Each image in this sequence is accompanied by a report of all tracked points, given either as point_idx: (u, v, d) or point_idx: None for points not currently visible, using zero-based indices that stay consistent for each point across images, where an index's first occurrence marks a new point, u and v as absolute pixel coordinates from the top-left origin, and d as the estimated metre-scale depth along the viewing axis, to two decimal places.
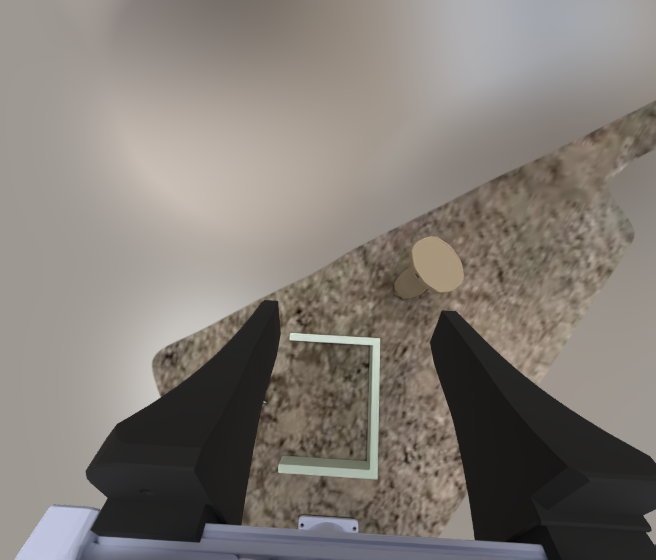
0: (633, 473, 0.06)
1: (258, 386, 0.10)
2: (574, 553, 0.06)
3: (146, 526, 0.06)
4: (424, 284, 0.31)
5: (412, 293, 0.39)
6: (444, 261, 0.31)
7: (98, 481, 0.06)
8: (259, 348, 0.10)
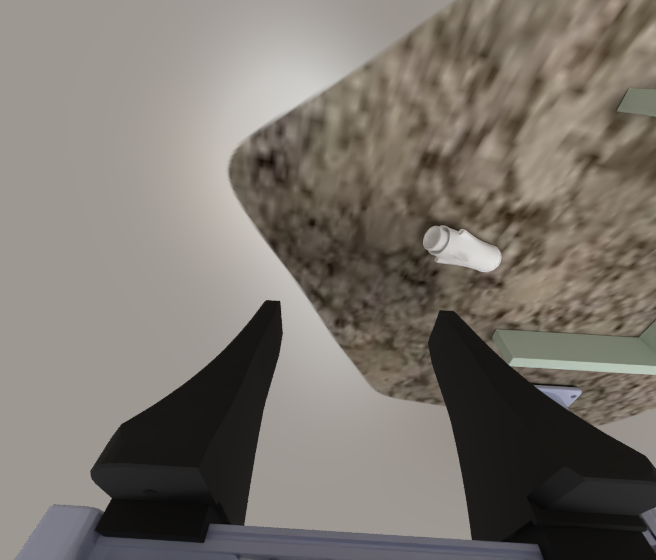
0: (628, 472, 0.06)
1: (261, 386, 0.10)
2: (569, 553, 0.06)
3: (150, 526, 0.06)
4: None
5: None
6: None
7: (102, 481, 0.06)
8: (262, 348, 0.10)
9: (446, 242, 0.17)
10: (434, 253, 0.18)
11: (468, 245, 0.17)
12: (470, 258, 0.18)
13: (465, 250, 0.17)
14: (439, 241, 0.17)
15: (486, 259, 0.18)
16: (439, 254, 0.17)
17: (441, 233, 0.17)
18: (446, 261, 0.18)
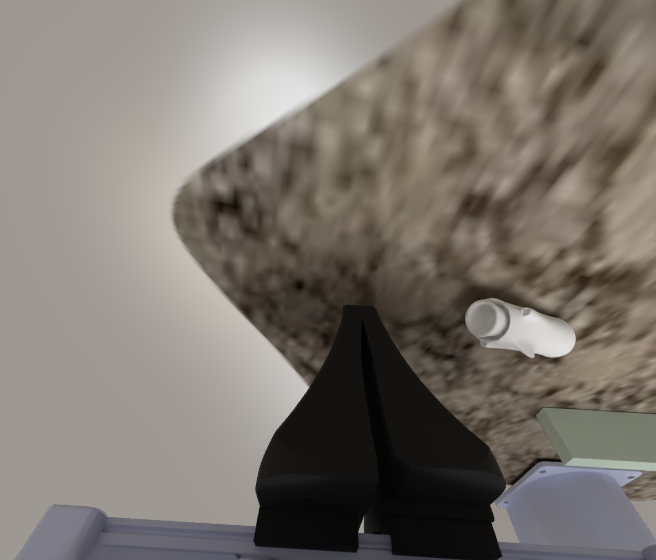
0: (457, 462, 0.06)
1: None
2: (410, 542, 0.06)
3: (306, 536, 0.06)
4: None
5: None
6: None
7: (266, 492, 0.06)
8: None
9: (503, 327, 0.12)
10: (482, 337, 0.12)
11: (535, 330, 0.12)
12: (535, 346, 0.12)
13: (531, 337, 0.12)
14: (494, 327, 0.11)
15: (556, 345, 0.13)
16: (491, 342, 0.12)
17: (497, 315, 0.11)
18: (498, 346, 0.13)
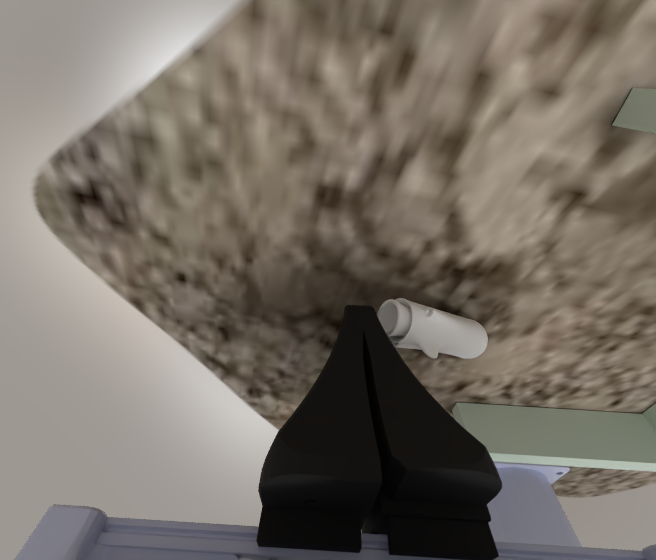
0: (454, 461, 0.06)
1: None
2: (407, 542, 0.06)
3: (309, 536, 0.06)
4: None
5: None
6: None
7: (270, 492, 0.06)
8: None
9: (407, 327, 0.12)
10: (391, 337, 0.12)
11: (440, 331, 0.12)
12: (442, 347, 0.12)
13: (436, 338, 0.12)
14: (396, 327, 0.11)
15: (466, 346, 0.13)
16: (397, 342, 0.12)
17: (399, 315, 0.11)
18: (409, 347, 0.13)
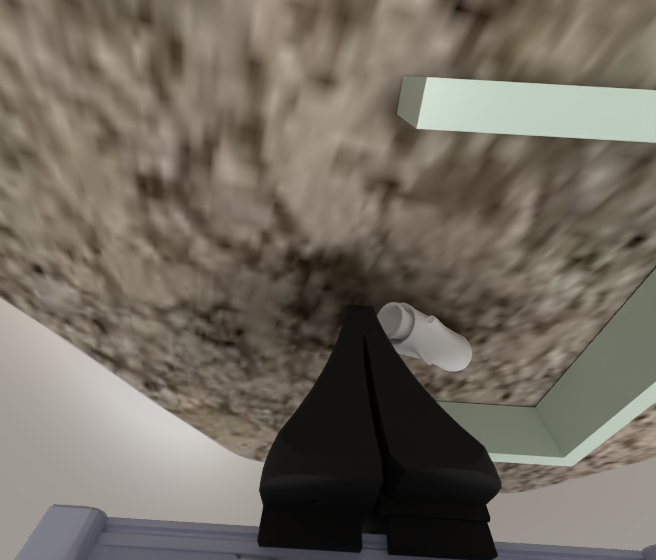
0: (453, 462, 0.06)
1: None
2: (406, 542, 0.06)
3: (310, 536, 0.06)
4: None
5: None
6: None
7: (270, 492, 0.06)
8: None
9: (408, 331, 0.12)
10: None
11: (436, 339, 0.12)
12: (434, 356, 0.12)
13: (431, 345, 0.12)
14: (398, 329, 0.11)
15: (454, 358, 0.13)
16: (395, 345, 0.12)
17: (403, 318, 0.11)
18: (402, 352, 0.13)
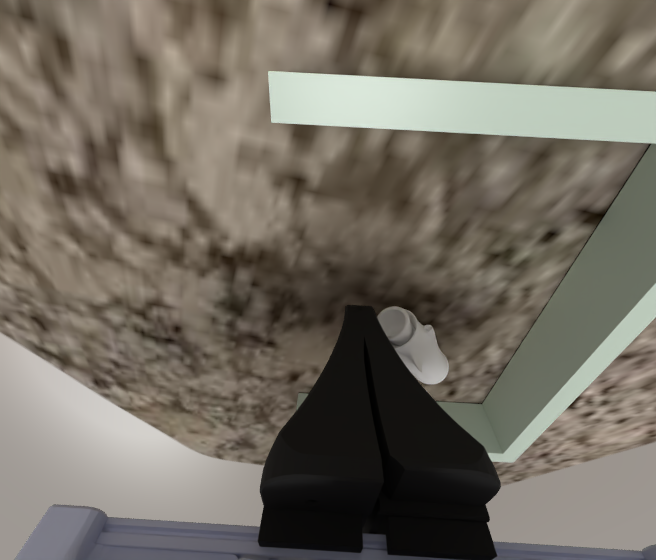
0: (452, 461, 0.06)
1: None
2: (405, 542, 0.06)
3: (311, 536, 0.06)
4: None
5: None
6: None
7: (271, 492, 0.06)
8: None
9: (407, 336, 0.12)
10: None
11: (428, 348, 0.13)
12: (422, 365, 0.13)
13: (423, 354, 0.12)
14: (402, 332, 0.11)
15: (436, 370, 0.14)
16: None
17: (407, 322, 0.12)
18: None
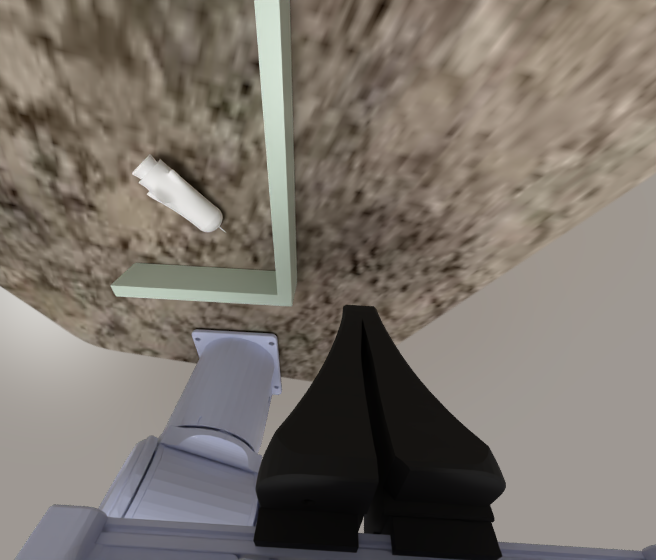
0: (457, 462, 0.06)
1: None
2: (410, 542, 0.06)
3: (306, 536, 0.06)
4: None
5: None
6: None
7: (266, 492, 0.06)
8: None
9: None
10: None
11: (175, 189, 0.17)
12: (175, 203, 0.17)
13: (170, 192, 0.17)
14: (138, 167, 0.16)
15: (196, 214, 0.18)
16: (141, 183, 0.17)
17: (144, 160, 0.16)
18: (157, 198, 0.18)
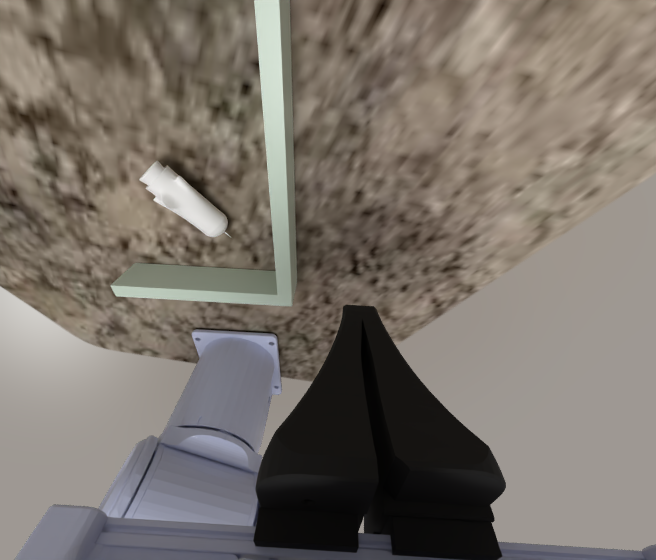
0: (457, 462, 0.06)
1: None
2: (410, 542, 0.06)
3: (306, 536, 0.06)
4: None
5: None
6: None
7: (266, 492, 0.06)
8: None
9: None
10: None
11: (182, 195, 0.17)
12: (182, 209, 0.18)
13: (177, 198, 0.17)
14: (146, 173, 0.16)
15: (202, 219, 0.18)
16: (148, 189, 0.17)
17: (152, 167, 0.16)
18: (163, 204, 0.18)
